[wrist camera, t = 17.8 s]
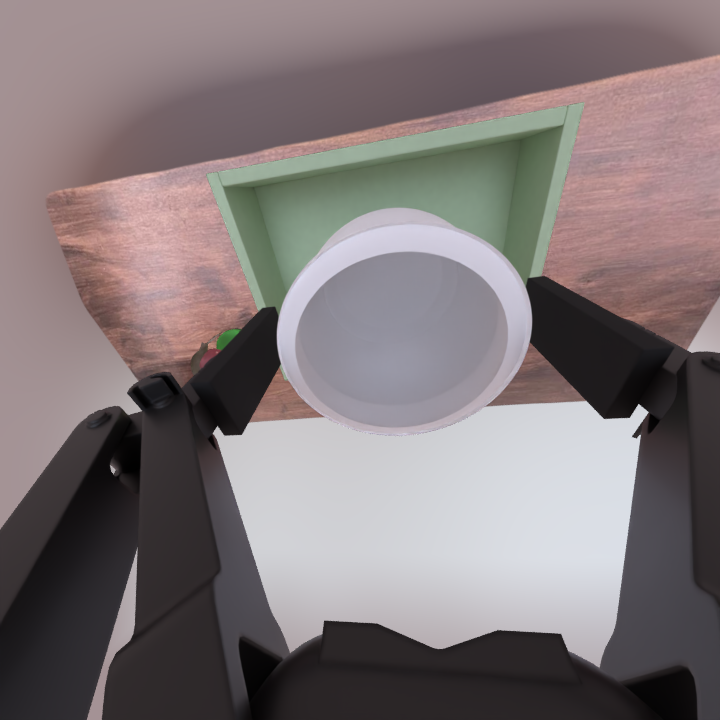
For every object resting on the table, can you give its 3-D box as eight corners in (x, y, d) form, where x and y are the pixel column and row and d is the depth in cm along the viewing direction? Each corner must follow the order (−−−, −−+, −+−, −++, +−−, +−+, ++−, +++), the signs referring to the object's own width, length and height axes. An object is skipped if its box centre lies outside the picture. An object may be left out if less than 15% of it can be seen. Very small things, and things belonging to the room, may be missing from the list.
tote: (300, 348, 30) (284, 380, 25) (246, 177, 21) (205, 173, 16) (493, 331, 27) (519, 363, 22) (528, 125, 18) (585, 101, 13)
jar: (432, 176, 19) (530, 155, 7) (456, 299, 24) (537, 413, 12) (309, 232, 22) (219, 290, 10) (354, 332, 27) (335, 454, 15)
